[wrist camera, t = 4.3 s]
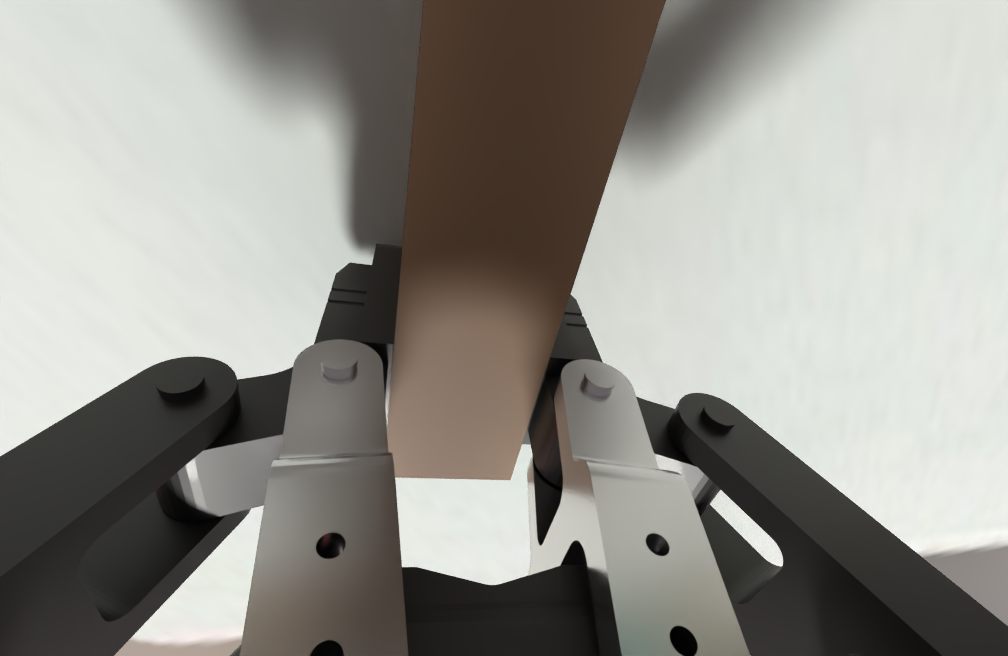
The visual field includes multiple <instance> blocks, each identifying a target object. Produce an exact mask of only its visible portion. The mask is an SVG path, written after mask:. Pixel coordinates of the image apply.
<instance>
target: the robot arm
mask: <svg viewBox="0 0 1008 656" xmlns="http://www.w3.org/2000/svg"><path fill="white" fill-rule="evenodd" d="M401 258H402V247H399V246H391V245H383V244H376V248H375V253H374V258H373V263H372V265H365V264H356V263H349V264H348V265H346V266H345V267H344V268H343V269H341V270H340V271H339V272H338V273H336V276H335V279H334V282H333V285H332V290H331V292H330V295H329V298H328V303H327V304H326V308H325V311H324V314H323V317H322V320H321V324H320V327H319V330H318V333H317V337H316V340H315V343H314V345H311V346H310V347H308V348H306V349H305V350H303V351H302V352H301V353H300V354H299V355H298V356H297V358H296V360H295V362H294V365H293V367H292V368H290V369H287V370H285V371H282V372H279V373H275V374H270V375H265V376H259V377H252V378H245V379H238V380H237V377H236V375H235V372H234V371H233V370H232V368H230V367H229V366H228V365H227V364H225V363H223V362H221V361H218V360H215V359H212V358H207V357H182V358H176V359H171V360H167V361H164V362H161V363H158V364H156V365H153V366H151V367H149V368H147V369H145V370H143V371H142V372H140V373H138V374H137V375H135V376H134V377H132V378H130V379H129V380H127V381H125V382H124V383H122V384H120V385H119V386H117V387H115V388H114V389H112V390H110V391H109V392H107V393H105V394H104V395H102V396H100V397H99V398H97V399H95V400H94V401H92V402H90V403H89V404H87V405H85V406H84V407H82V408H80V409H79V410H77V411H75V412H74V413H72V414H70V415H69V416H67V417H65V418H64V419H62V420H60V421H59V422H57V423H55V424H54V425H52V426H50V427H49V428H47V429H45V430H44V431H42V432H40V433H39V434H37V435H35V436H34V437H32V438H30V439H29V440H27V441H25V442H24V443H22V444H20V445H19V446H17V447H15V448H14V449H12V450H10V451H9V452H7V453H5V454H4V455H2V456H0V656H114V655H115V654H116V653H117V652H118V651H119V649H121V648H122V646H123V645H124V644H125V643H126V642H127V641H128V640H129V639H130V638H131V637H132V636H133V635H134V634H135V633H136V632H137V631H138V630H139V629H140V628H141V627H142V625H143V624H144V623H145V622H146V621H147V620H148V619H149V618H150V617H151V616H152V615H153V614H154V613H155V612H156V611H157V610H158V609H159V608H160V607H161V605H162V604H163V603H164V602H165V601H166V600H167V599H168V598H169V597H170V596H171V595H172V594H173V593H174V592H175V591H176V590H177V589H178V588H179V587H180V586H181V584H182V583H183V582H184V581H185V580H186V579H187V578H188V577H189V576H190V575H191V574H192V573H193V572H194V571H195V570H196V569H197V568H198V567H199V566H200V564H201V563H202V562H203V561H204V560H205V559H206V558H207V557H208V556H209V555H210V554H211V553H212V552H213V551H214V550H215V549H216V548H217V547H218V546H219V544H220V543H221V542H222V541H223V540H224V539H225V538H226V537H227V536H228V535H229V534H230V533H231V532H232V531H233V530H234V529H235V528H236V527H237V526H238V525H239V523H240V522H241V521H242V520H243V519H244V518H245V517H246V516H247V514H248V513H249V511H250V510H251V508H255V507H258V506H262V505H264V509H263V515H262V521H261V527H260V533H259V539H258V546H257V552H256V558H255V564H254V570H253V576H252V582H251V589H250V595H249V601H248V607H247V613H246V619H245V626H244V632H243V638H242V644H241V645H240V646H239V647H238V648H237V649H236V650H235V651H234V652H233V653H232V654H231V655H230V656H750V655H751V656H1008V626H1007V625H1005V624H1004V623H1003V622H1002V621H1000V620H999V619H998V618H997V617H996V616H994V615H993V614H992V613H991V612H989V611H988V610H987V609H986V608H984V607H983V606H982V605H981V604H979V603H978V602H977V601H976V600H974V599H973V598H972V597H971V596H969V595H968V594H967V593H966V592H964V591H963V590H962V589H961V588H960V587H958V586H957V585H956V584H955V583H953V582H952V581H951V580H950V579H948V578H947V577H946V576H945V575H943V574H942V573H941V572H940V571H938V570H937V569H936V568H935V567H933V566H932V565H931V564H929V563H928V562H927V561H926V560H924V559H923V558H922V557H921V556H920V555H918V554H917V553H916V552H915V551H913V550H912V549H911V548H910V547H908V546H907V545H906V544H905V543H903V542H902V541H901V540H900V539H899V538H897V537H896V536H895V535H894V534H892V533H891V532H890V531H889V530H887V529H886V528H885V527H884V526H882V525H881V524H880V523H879V522H877V521H876V520H875V519H874V518H872V517H871V516H870V515H869V514H867V513H866V512H865V511H864V510H862V509H861V508H860V507H859V506H857V505H856V504H855V503H854V502H852V501H851V500H850V499H849V498H847V497H846V496H845V495H844V494H843V493H841V492H840V491H839V490H838V489H836V488H835V487H834V486H833V485H831V484H830V483H829V482H828V481H826V480H825V479H824V478H823V477H821V476H820V475H819V474H818V473H816V472H815V471H814V470H813V469H811V468H810V467H809V466H808V465H806V464H805V463H804V462H803V461H801V460H800V459H799V458H798V457H796V456H795V455H794V454H793V453H791V452H790V451H789V450H788V449H786V448H785V447H784V446H783V445H782V444H780V443H779V442H778V441H777V440H775V439H774V438H773V437H772V436H770V435H769V434H768V433H767V432H765V431H764V430H763V429H762V428H760V427H759V426H758V425H757V424H755V423H754V422H753V421H752V420H750V419H749V418H748V417H747V416H745V415H744V414H743V413H742V412H740V411H739V410H738V409H737V408H735V407H734V406H733V405H731V404H729V403H728V402H726V401H724V400H722V399H720V398H717V397H715V396H712V395H708V394H703V393H691V394H688V395H685V396H684V397H682V399H681V400H680V401H679V403H678V405H677V407H676V408H675V409H673V408H670V407H666V406H663V405H660V404H657V403H653V402H650V401H647V400H644V399H641V398H639V397H636V395H635V392H634V389H633V386H632V384H631V383H630V381H629V380H628V379H627V378H626V377H625V376H624V375H623V374H622V373H621V372H620V371H618V370H617V369H615V368H613V367H612V366H610V365H607V364H605V363H603V362H602V359H601V357H600V355H599V352H598V350H597V348H596V345H595V343H594V341H593V338H592V336H591V334H590V331H589V329H588V328H587V324H586V322H585V320H584V317H583V316H582V312H581V310H580V308H579V305H578V303H577V301H576V299H575V298H574V297H573V296H572V295H571V294H570V297H569V300H568V303H567V306H566V309H565V312H564V316H563V319H562V322H561V325H560V328H559V331H558V334H557V337H556V340H555V343H554V346H553V349H552V353H551V356H550V359H549V362H548V365H547V368H546V371H545V374H544V377H543V380H542V383H541V387H540V390H539V393H538V396H537V399H536V402H535V405H534V408H533V411H532V414H531V417H530V420H529V424H528V427H527V430H526V433H525V436H524V439H523V442H522V444H531V448H532V453H533V455H532V458H531V460H530V463H529V466H528V470H527V480H528V503H529V527H530V550H531V558H530V569H529V575H528V576H525V577H522V578H519V579H516V580H512V581H509V582H506V583H503V584H499V585H485V584H481V583H477V582H473V581H469V580H465V579H461V578H457V577H453V576H449V575H445V574H441V573H437V572H433V571H429V570H425V569H421V568H417V567H402V564H401V551H400V537H399V524H398V511H397V497H396V484H395V470H394V460H393V455H392V452H389V451H388V439H387V422H388V410H389V399H390V387H391V375H392V364H393V352H394V340H395V328H396V317H397V305H398V293H399V282H400V270H401ZM720 489H721V490H722V491H723V492H724V493H725V494H726V495H727V496H728V497H729V498H730V499H731V500H732V501H733V502H735V503H736V504H737V505H738V506H739V507H740V508H741V509H742V510H743V511H744V512H745V513H746V514H747V515H748V516H749V517H750V518H751V519H752V520H753V521H755V522H756V523H757V524H758V525H759V526H760V527H761V528H762V529H763V530H764V531H765V532H766V533H767V534H768V535H769V536H770V537H771V538H772V539H773V540H774V541H775V542H776V543H777V545H778V546H779V548H780V550H781V552H782V555H783V566H782V567H780V566H776V565H773V564H771V563H770V562H768V561H767V560H765V559H764V558H763V557H762V556H761V555H760V554H759V553H758V552H757V551H756V550H755V549H754V548H753V547H752V546H751V545H750V544H749V543H748V542H747V541H746V540H745V539H744V538H743V537H742V536H741V535H740V534H739V533H738V532H737V531H736V530H735V529H734V528H733V527H732V526H731V525H730V524H729V523H728V522H727V521H726V520H725V519H724V518H723V517H722V516H721V515H720V514H719V513H718V512H717V511H716V510H715V509H714V508H713V507H712V506H711V505H710V503H711V502H712V500H713V499H714V498H715V496H716V495H717V493H718V492H719V491H720Z"/></svg>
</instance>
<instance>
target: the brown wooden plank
mask: <svg viewBox="0 0 1008 656" xmlns="http://www.w3.org/2000/svg"><path fill="white" fill-rule="evenodd" d="M665 1H666V0H423V12H422V24H421V36H420V47H419V59H418V71H417V82H416V94H415V106H414V118H413V129H412V141H411V153H410V164H409V176H408V188H407V200H406V211H405V223H404V235H403V246H402V258H401V270H400V282H399V293H398V305H397V317H396V328H395V340H394V352H393V364H392V375H391V387H390V399H389V410H388V422H387V439H388V451H389V452H392V455H393V460H394V470H395V477H402V478H444V479H487V480H510V479H511V476H512V473H513V470H514V467H515V464H516V461H517V457H518V454H519V451H520V448H521V445H522V442H523V439H524V436H525V433H526V430H527V427H528V424H529V420H530V417H531V414H532V411H533V408H534V405H535V402H536V399H537V396H538V393H539V390H540V387H541V383H542V380H543V377H544V374H545V371H546V368H547V365H548V362H549V359H550V356H551V353H552V349H553V346H554V343H555V340H556V337H557V334H558V331H559V328H560V325H561V322H562V319H563V316H564V312H565V309H566V306H567V303H568V300H569V297H570V294H571V291H572V288H573V285H574V282H575V278H576V275H577V272H578V269H579V266H580V263H581V260H582V257H583V254H584V251H585V248H586V245H587V241H588V238H589V235H590V232H591V229H592V226H593V223H594V220H595V217H596V214H597V211H598V207H599V204H600V201H601V198H602V195H603V192H604V189H605V186H606V183H607V180H608V177H609V174H610V170H611V167H612V164H613V161H614V158H615V155H616V152H617V149H618V146H619V143H620V140H621V137H622V133H623V130H624V127H625V124H626V121H627V118H628V115H629V112H630V109H631V106H632V103H633V99H634V96H635V93H636V90H637V87H638V84H639V81H640V78H641V75H642V72H643V69H644V66H645V62H646V59H647V56H648V53H649V50H650V47H651V44H652V41H653V38H654V35H655V32H656V28H657V25H658V22H659V19H660V16H661V13H662V10H663V7H664V4H665Z"/></svg>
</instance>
